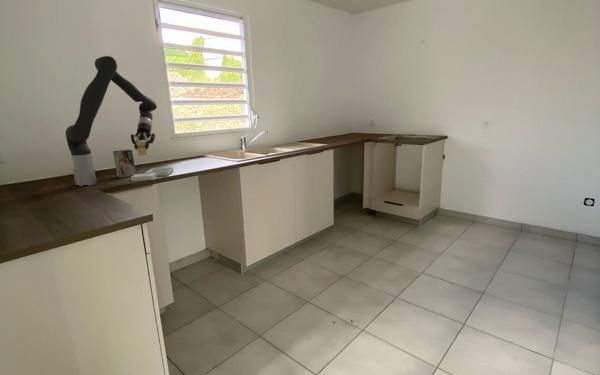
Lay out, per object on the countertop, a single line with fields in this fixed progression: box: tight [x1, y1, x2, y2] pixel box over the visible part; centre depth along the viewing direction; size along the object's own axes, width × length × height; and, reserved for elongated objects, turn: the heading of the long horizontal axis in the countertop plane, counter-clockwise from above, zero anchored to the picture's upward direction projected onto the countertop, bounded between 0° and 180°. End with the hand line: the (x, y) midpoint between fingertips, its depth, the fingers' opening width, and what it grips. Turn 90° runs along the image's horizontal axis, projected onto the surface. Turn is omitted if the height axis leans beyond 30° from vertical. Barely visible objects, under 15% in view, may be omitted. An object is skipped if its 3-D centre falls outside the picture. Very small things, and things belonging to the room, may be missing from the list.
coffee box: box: [112, 149, 137, 178], centre depth 203 cm, size 9×6×16 cm
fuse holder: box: [130, 173, 157, 182], centre depth 193 cm, size 12×7×2 cm, turn 97°
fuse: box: [136, 140, 149, 156], centre depth 191 cm, size 5×2×8 cm, turn 97°
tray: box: [144, 166, 174, 178], centre depth 206 cm, size 13×13×3 cm
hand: (141, 148), depth 189 cm, fingers closed on fuse, 5 cm apart
